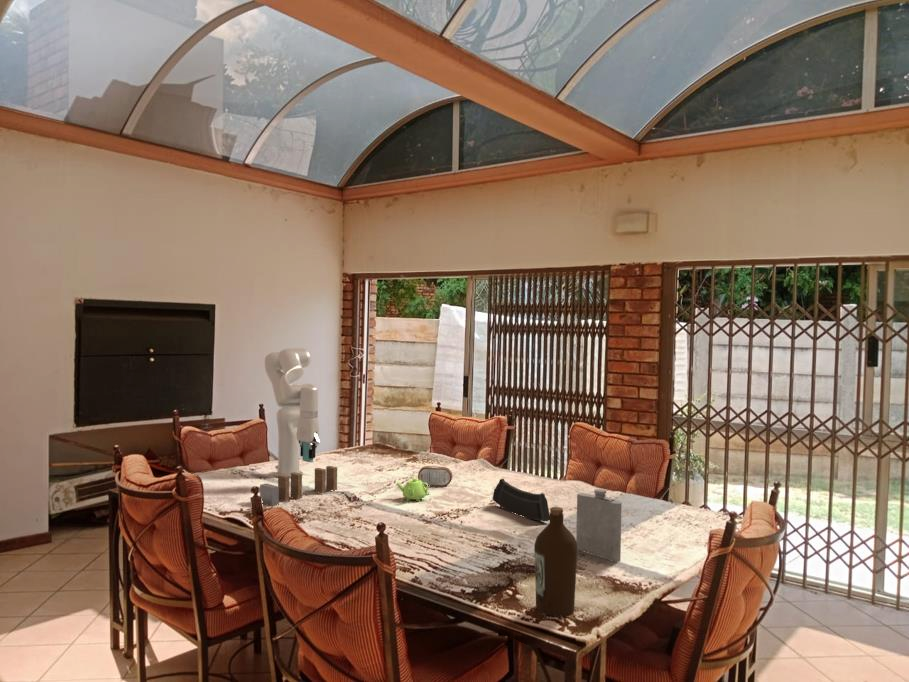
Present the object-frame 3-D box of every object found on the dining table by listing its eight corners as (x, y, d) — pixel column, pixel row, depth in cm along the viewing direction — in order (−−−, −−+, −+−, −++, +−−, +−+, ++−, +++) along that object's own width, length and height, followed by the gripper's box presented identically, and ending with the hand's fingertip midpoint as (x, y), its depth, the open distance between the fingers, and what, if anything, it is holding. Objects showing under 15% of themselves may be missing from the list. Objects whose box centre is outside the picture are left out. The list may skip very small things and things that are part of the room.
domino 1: (285, 502, 273) (285, 476, 273) (277, 499, 276) (278, 474, 276) (289, 501, 274) (289, 476, 274) (281, 499, 278) (281, 474, 278)
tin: (452, 485, 306) (452, 466, 306) (451, 487, 303) (451, 468, 303) (418, 484, 307) (418, 465, 307) (417, 486, 304) (417, 466, 304)
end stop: (259, 502, 272) (260, 484, 272) (266, 501, 274) (266, 483, 274) (271, 506, 267) (272, 487, 267) (278, 504, 269) (278, 486, 269)
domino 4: (322, 494, 287) (322, 470, 287) (314, 492, 290) (314, 468, 290) (325, 493, 288) (325, 469, 288) (318, 491, 291) (318, 467, 291)
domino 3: (309, 462, 297) (310, 439, 297) (302, 460, 300) (302, 437, 300) (313, 461, 299) (313, 438, 298) (305, 459, 302) (306, 437, 301)
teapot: (433, 500, 279) (434, 479, 278) (408, 504, 272) (408, 482, 272) (419, 495, 288) (419, 474, 288) (395, 498, 282) (395, 477, 282)
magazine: (555, 500, 246) (506, 461, 270) (548, 501, 245) (499, 462, 268) (545, 542, 251) (497, 501, 275) (538, 544, 249) (490, 502, 273)
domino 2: (298, 499, 278) (298, 474, 277) (290, 497, 281) (290, 472, 281) (301, 498, 279) (302, 473, 279) (294, 496, 282) (294, 471, 282)
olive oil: (569, 599, 179) (571, 502, 178) (582, 617, 168) (584, 513, 168) (529, 601, 177) (530, 503, 177) (539, 618, 167) (540, 514, 166)
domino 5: (333, 491, 291) (333, 467, 291) (326, 489, 294) (326, 466, 294) (337, 491, 293) (337, 467, 292) (329, 489, 296) (329, 465, 296)
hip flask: (574, 549, 220) (575, 486, 219) (582, 546, 223) (583, 484, 222) (616, 562, 208) (617, 495, 208) (624, 559, 211) (625, 493, 210)
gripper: (289, 413, 301) (288, 455, 302) (314, 418, 290) (313, 461, 291) (303, 411, 307) (302, 452, 308) (328, 416, 296) (327, 459, 297)
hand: (307, 456), depth 299 cm, fingers closed on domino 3, 4 cm apart
